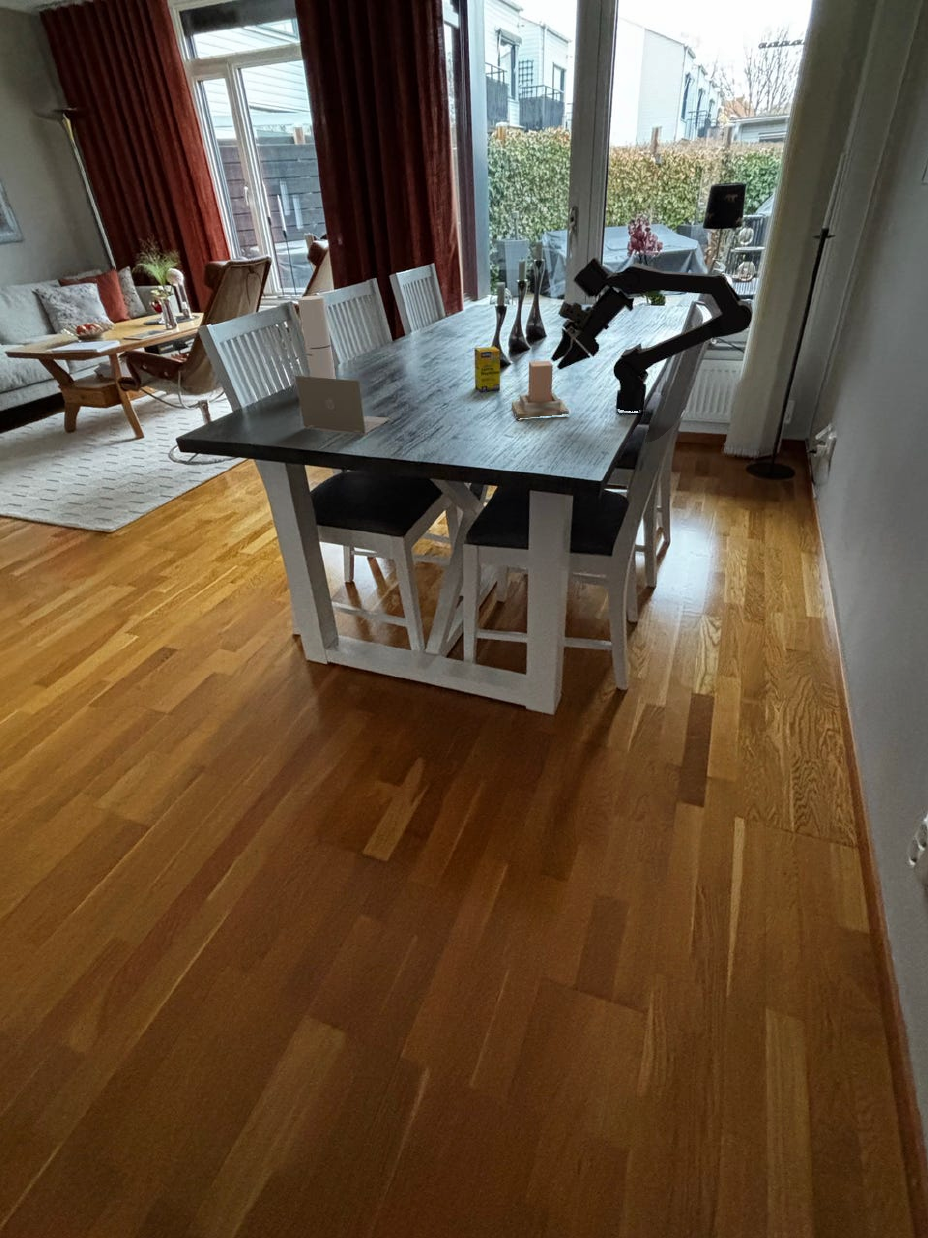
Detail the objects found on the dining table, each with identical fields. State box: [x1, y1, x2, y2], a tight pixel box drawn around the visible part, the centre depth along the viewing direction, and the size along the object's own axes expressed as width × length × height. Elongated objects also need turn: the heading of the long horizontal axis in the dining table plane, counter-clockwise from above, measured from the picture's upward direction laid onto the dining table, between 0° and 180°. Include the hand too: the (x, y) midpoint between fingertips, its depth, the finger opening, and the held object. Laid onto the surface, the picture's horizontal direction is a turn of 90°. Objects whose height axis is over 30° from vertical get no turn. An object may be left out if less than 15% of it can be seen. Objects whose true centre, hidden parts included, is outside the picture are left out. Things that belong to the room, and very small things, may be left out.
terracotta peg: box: [527, 360, 554, 403], centre depth 161 cm, size 5×5×12 cm
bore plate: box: [511, 392, 570, 420], centre depth 163 cm, size 13×11×4 cm
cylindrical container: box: [297, 295, 337, 379], centre depth 182 cm, size 7×7×25 cm
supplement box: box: [474, 346, 501, 393], centre depth 181 cm, size 6×6×11 cm
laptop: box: [294, 375, 390, 436], centre depth 158 cm, size 18×12×13 cm
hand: (555, 364), depth 158 cm, fingers open, 9 cm apart
